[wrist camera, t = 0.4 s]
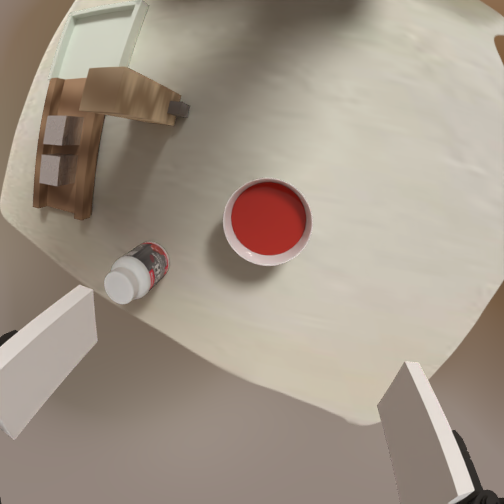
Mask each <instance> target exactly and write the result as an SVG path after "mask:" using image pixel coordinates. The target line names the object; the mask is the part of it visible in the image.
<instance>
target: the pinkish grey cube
mask: <svg viewBox="0 0 504 504" xmlns="http://www.w3.org/2000/svg"><path fill="white" fill-rule="evenodd" d="M77 159H78V155H71V154H62V153H55V154H43V155H42V158H41V167H40V180H39V183H43V184H48V185H53V186H61V185H66V184H71V183H75V176H76V167H77Z"/></svg>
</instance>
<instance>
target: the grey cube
mask: <svg viewBox="0 0 504 504" xmlns="http://www.w3.org/2000/svg"><path fill="white" fill-rule="evenodd" d="M83 121H84V117H75V116H48V117H47V122H46V128H45V135H44V141H43V144H50V145H61V146H63V145H80V138H81V132H82V127H83Z"/></svg>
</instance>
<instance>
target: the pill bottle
mask: <svg viewBox="0 0 504 504" xmlns="http://www.w3.org/2000/svg"><path fill="white" fill-rule="evenodd" d="M169 264H170V262H169V257H168V254H167V252H166V251H165V249H164V248H163V247H162V246H161V245H159V244H157V243H155V242H144V243H142V244H141V245H139V246H137V247H136V248H134V249H133V250H131V251H130V252H128V253H127V254H125V255H123V256H122V257H120V258H119V259H118V260H116V261H115V262H114V264H113V266H112V268H111V272H110V273H108V274H107V276H106V277H105V280H104V287H105V290H106V293H107V295H108V296H109V297H110V298H111V299H112V300H113V301H114V302H116V303H118V304H127V303H129V302H130V301H132V300H133V299H140V298H142V297H143V296H145V295H146V294H147V293H148V292H149V291H150V290H151V289H152V288H153V287H154V286H155V284H156V283H157V282H158V281H159V280H160V279H161V278H162V277H163V276H164V275H165V274H166V273H167V271H168V269H169Z"/></svg>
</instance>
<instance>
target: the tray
mask: <svg viewBox="0 0 504 504" xmlns="http://www.w3.org/2000/svg"><path fill="white" fill-rule="evenodd" d="M148 8H149V5H148V4H147V3H146V2H145V1H143V0H135V1H127V2H120V3H114V4H108V5H103V6H97V7H93V8H88V9H84V10H79V11H75V12H72V13H70V14H69V17H68V19H67V22H66V24H65V27H64V29H63V32H62V35H61V38H60V41H59V43H58V46H57V49H56V52H55V56H54V59H53V62H52V66H51V69H50V73H49V76H48V80H50V79H51V78H61V79H77V78H87V75H88V71H89V68H100V67H127V68H128V66H129V62H130V59H131V56H132V53H133V49H134V46H135V43H136V40H137V37H138V34H139V32H140V29H141V26H142V23H143V21H144V18H145V15H146V13H147V10H148Z"/></svg>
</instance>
